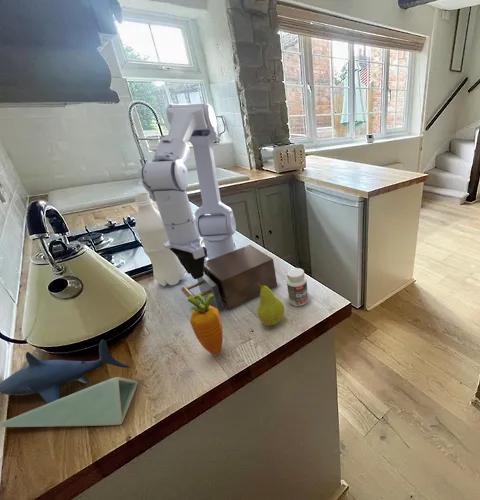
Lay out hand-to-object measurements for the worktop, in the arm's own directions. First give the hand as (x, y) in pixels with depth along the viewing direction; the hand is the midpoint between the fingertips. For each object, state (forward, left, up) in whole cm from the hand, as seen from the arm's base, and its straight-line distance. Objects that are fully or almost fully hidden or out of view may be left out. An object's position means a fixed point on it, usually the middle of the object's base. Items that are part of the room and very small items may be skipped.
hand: (195, 274), depth 68 cm
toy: (+6, -25, -10) cm, 28 cm away
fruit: (+17, +8, -10) cm, 21 cm away
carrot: (+17, -5, -10) cm, 20 cm away
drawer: (0, +5, -8) cm, 10 cm away
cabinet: (0, +10, -9) cm, 14 cm away
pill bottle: (+15, +17, -10) cm, 25 cm away
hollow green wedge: (+8, -35, -5) cm, 36 cm away
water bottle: (-18, -2, -10) cm, 20 cm away
